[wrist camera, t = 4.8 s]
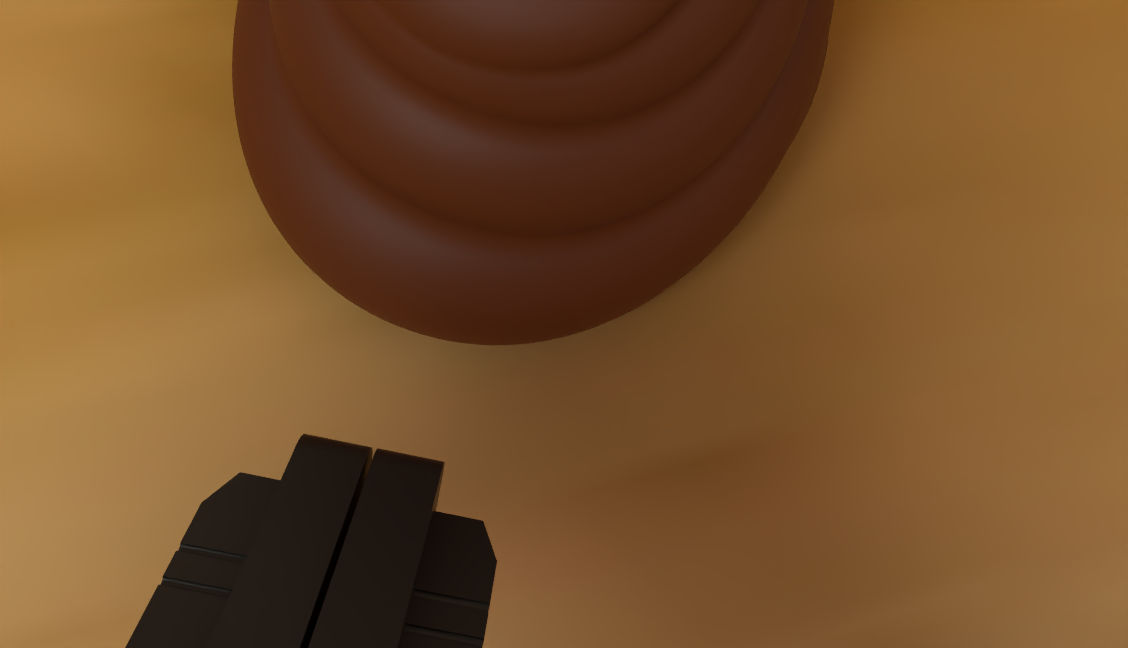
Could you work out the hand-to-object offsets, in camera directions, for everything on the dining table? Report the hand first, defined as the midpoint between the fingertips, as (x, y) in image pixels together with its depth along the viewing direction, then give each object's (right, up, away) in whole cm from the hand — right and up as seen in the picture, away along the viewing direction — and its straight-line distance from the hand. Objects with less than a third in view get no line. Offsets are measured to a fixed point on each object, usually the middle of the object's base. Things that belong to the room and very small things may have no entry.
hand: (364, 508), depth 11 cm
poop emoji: (+1, +6, +6) cm, 9 cm away
